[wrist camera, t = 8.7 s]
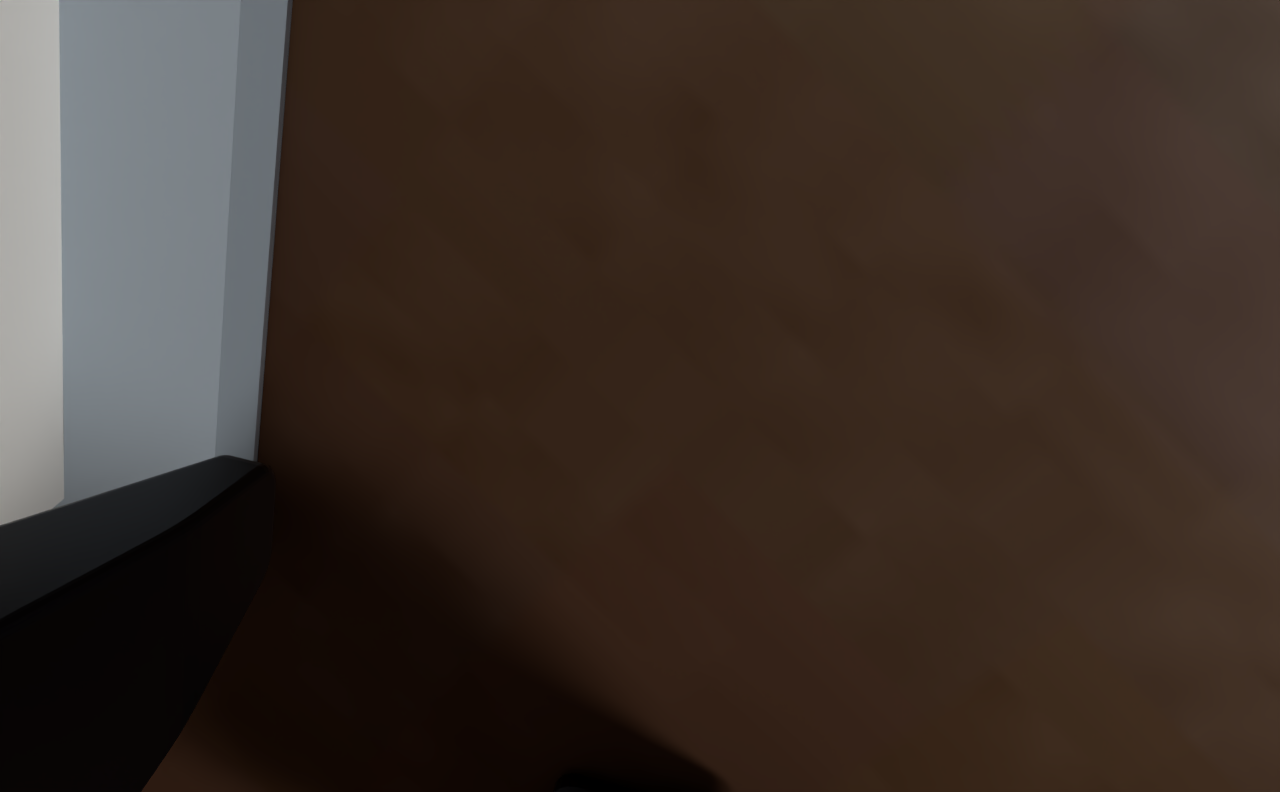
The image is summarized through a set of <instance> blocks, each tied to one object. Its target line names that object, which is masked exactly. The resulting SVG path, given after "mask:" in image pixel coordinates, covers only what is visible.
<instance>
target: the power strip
mask: <svg viewBox="0 0 1280 792" xmlns="http://www.w3.org/2000/svg"><path fill="white" fill-rule="evenodd" d="M63 499H64V432H63V335H62V238H61V140H60V43H59V0H0V525H3V524H6V523H9V522H12V521H15V520H18V519H22V518H25V517H28V516H31V515H34V514H37V513H40V512H44V511H47V510H50V509H52V508H54V507H55V506H56V505H57V504H58V503H60V502H61V501H62V500H63Z"/></svg>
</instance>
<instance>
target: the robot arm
mask: <svg viewBox="0 0 1280 792" xmlns="http://www.w3.org/2000/svg"><path fill="white" fill-rule="evenodd" d="M275 490H276V480H275V475H274V472H273V470H272V469H271V468H270V466H269V465H266V464H263V463H259V462H255V461H251V460H247V459H243V458H239V457H235V456H231V455H220V456H217V457H213V458H210V459H207V460H204V461H201V462H198V463H195V464H191V465H188V466H185V467H182V468H179V469H176V470H173V471H169V472H166V473H163V474H160V475H157V476H154V477H151V478H147V479H144V480H141V481H138V482H135V483H132V484H129V485H125V486H122V487H119V488H116V489H113V490H110V491H106V492H103V493H100V494H97V495H94V496H91V497H88V498H84V499H81V500H78V501H75V502H72V503H69V504H66V505H62V506H59V507H56V508H53V509H50V510H47V511H44V512H40V513H37V514H34V515H31V516H28V517H25V518H22V519H18V520H15V521H12V522H9V523H6V524H3V525H0V792H141V791H142V789H143V788H144V787H145V785H146V784H147V782H148V781H149V779H150V778H151V776H152V775H153V773H154V772H155V771H156V769H157V768H158V766H159V765H160V763H161V762H162V760H163V759H164V757H165V756H166V754H167V753H168V751H169V750H170V748H171V747H172V745H173V744H174V742H175V741H176V739H177V738H178V736H179V734H180V733H181V731H182V730H183V728H184V726H185V725H186V723H187V721H188V719H189V717H190V716H191V714H192V712H193V710H194V709H195V707H196V705H197V703H198V701H199V699H200V697H201V696H202V694H203V692H204V690H205V688H206V686H207V684H208V682H209V680H210V679H211V677H212V675H213V673H214V671H215V669H216V667H217V665H218V663H219V661H220V660H221V658H222V656H223V654H224V652H225V650H226V648H227V646H228V644H229V643H230V641H231V639H232V637H233V635H234V633H235V631H236V629H237V627H238V626H239V624H240V622H241V620H242V618H243V616H244V614H245V612H246V610H247V609H248V607H249V605H250V603H251V601H252V599H253V597H254V595H255V593H256V592H257V590H258V588H259V586H260V584H261V582H262V580H263V578H264V576H265V573H266V571H267V568H268V565H269V561H270V557H271V552H272V539H273V522H274V506H275ZM553 792H643V791H640V790H636V789H632V788H629V787H625V786H621V785H617V784H614V783H610V782H606V781H602V780H599V779H595V778H591V777H588V776H584V775H580V774H567V775H563V776H562V777H560V778H559V779H558V780H557V782H556V784H555V787H554V790H553Z"/></svg>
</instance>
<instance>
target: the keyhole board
mask: <svg viewBox="0 0 1280 792" xmlns="http://www.w3.org/2000/svg"><path fill="white" fill-rule="evenodd" d="M291 13H292V0H59V43H60V140H61V238H62V335H63V432H64V499H63V500H62V501H61V502H60V503H58V504H57V505H56V506H55V507H54V508H56V507H59V506H62V505H66V504H69V503H72V502H75V501H78V500H81V499H84V498H88V497H91V496H94V495H97V494H100V493H103V492H106V491H110V490H113V489H116V488H119V487H122V486H125V485H129V484H132V483H135V482H138V481H141V480H144V479H147V478H151V477H154V476H157V475H160V474H163V473H166V472H169V471H173V470H176V469H179V468H182V467H185V466H188V465H191V464H195V463H198V462H201V461H204V460H207V459H210V458H213V457H217V456H220V455H231V456H235V457H239V458H243V459H247V460H251V461H255V462H257V458H258V445H259V432H260V419H261V406H262V392H263V379H264V366H265V353H266V340H267V327H268V314H269V301H270V288H271V275H272V262H273V249H274V236H275V223H276V209H277V196H278V183H279V170H280V157H281V144H282V131H283V118H284V105H285V92H286V79H287V66H288V53H289V39H290V26H291ZM52 509H53V508H52Z"/></svg>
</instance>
